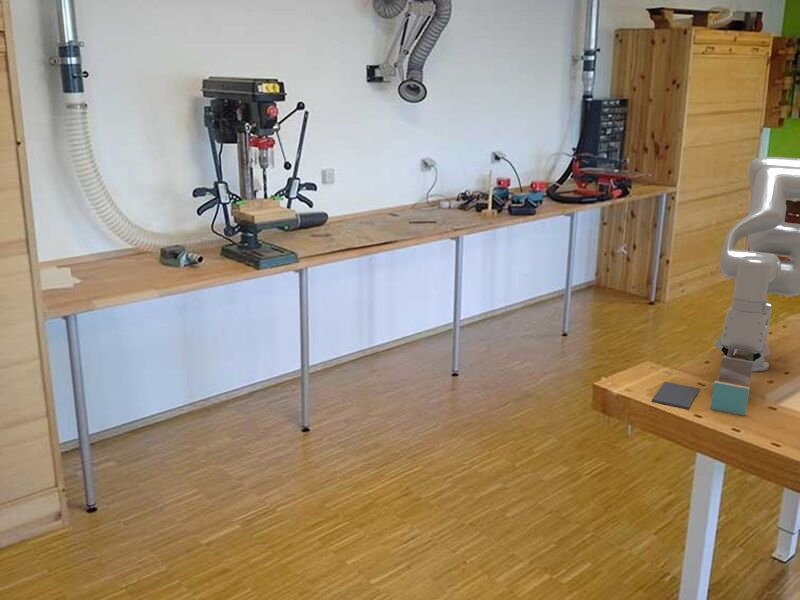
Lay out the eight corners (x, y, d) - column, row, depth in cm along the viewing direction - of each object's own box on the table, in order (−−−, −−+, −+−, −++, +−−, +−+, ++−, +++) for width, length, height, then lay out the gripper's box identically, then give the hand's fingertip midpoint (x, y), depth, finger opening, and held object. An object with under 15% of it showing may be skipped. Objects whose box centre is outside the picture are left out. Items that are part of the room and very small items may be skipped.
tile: (711, 406, 196) (715, 380, 195) (745, 413, 193) (749, 387, 191) (710, 408, 195) (714, 382, 193) (744, 415, 191) (749, 389, 189)
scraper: (726, 366, 209) (729, 344, 207) (755, 371, 205) (758, 349, 204) (719, 380, 197) (722, 357, 196) (749, 385, 194) (752, 362, 193)
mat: (664, 383, 211) (664, 381, 211) (699, 390, 207) (699, 388, 207) (651, 401, 198) (651, 399, 198) (688, 409, 194) (689, 407, 194)
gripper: (785, 307, 197) (773, 376, 201) (716, 297, 204) (707, 364, 209) (782, 314, 190) (771, 385, 195) (711, 303, 198) (702, 372, 203)
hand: (738, 373), depth 202 cm, fingers closed on scraper, 3 cm apart
